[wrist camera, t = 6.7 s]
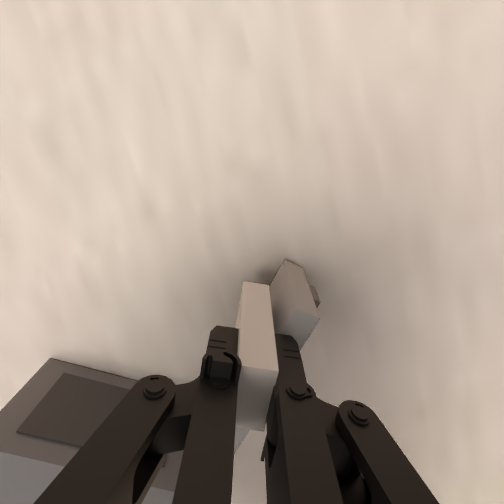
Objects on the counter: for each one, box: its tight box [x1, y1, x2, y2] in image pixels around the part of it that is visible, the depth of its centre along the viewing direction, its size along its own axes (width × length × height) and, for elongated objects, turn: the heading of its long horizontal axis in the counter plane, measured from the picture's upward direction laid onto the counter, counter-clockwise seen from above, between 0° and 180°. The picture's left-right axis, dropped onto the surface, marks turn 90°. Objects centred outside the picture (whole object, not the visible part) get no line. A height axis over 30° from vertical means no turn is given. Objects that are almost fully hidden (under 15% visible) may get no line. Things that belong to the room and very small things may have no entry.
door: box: [234, 260, 320, 453], centre depth 18 cm, size 2×12×6 cm, turn 154°
